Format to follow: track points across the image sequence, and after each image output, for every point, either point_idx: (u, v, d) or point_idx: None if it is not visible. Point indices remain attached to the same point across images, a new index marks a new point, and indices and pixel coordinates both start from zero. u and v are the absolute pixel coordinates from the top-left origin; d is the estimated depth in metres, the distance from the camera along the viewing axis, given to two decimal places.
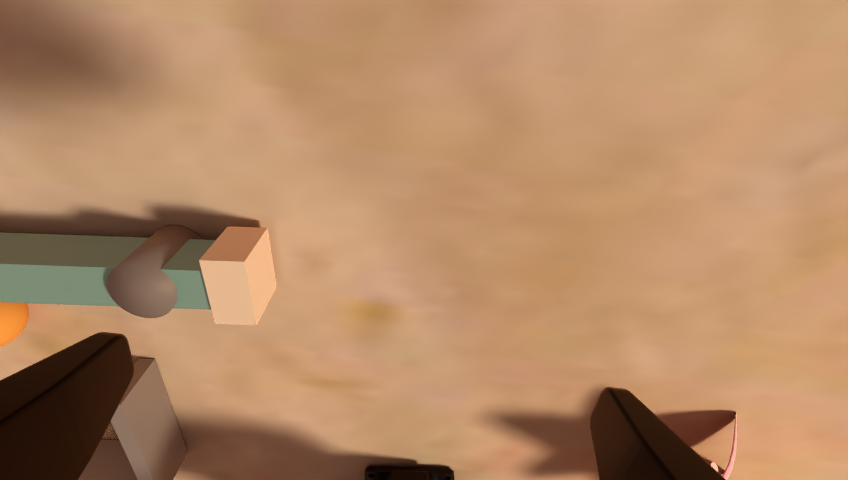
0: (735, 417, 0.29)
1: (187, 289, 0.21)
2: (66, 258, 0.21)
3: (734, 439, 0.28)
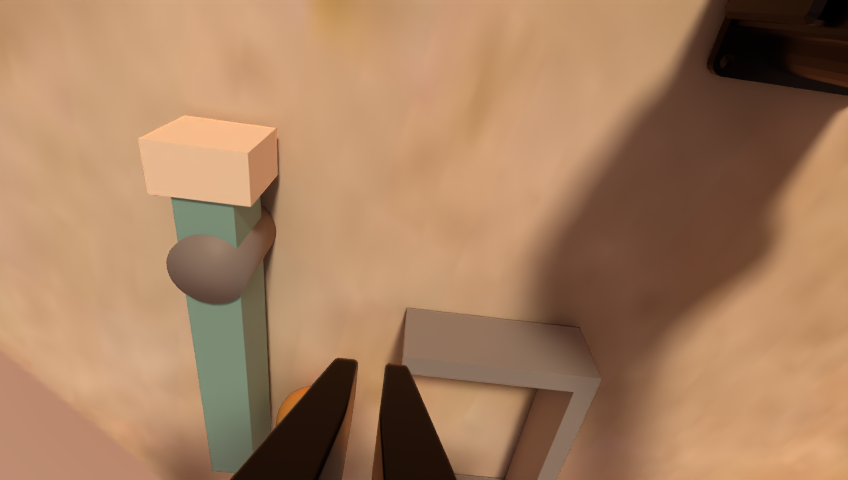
0: None
1: (203, 222, 0.16)
2: None
3: None
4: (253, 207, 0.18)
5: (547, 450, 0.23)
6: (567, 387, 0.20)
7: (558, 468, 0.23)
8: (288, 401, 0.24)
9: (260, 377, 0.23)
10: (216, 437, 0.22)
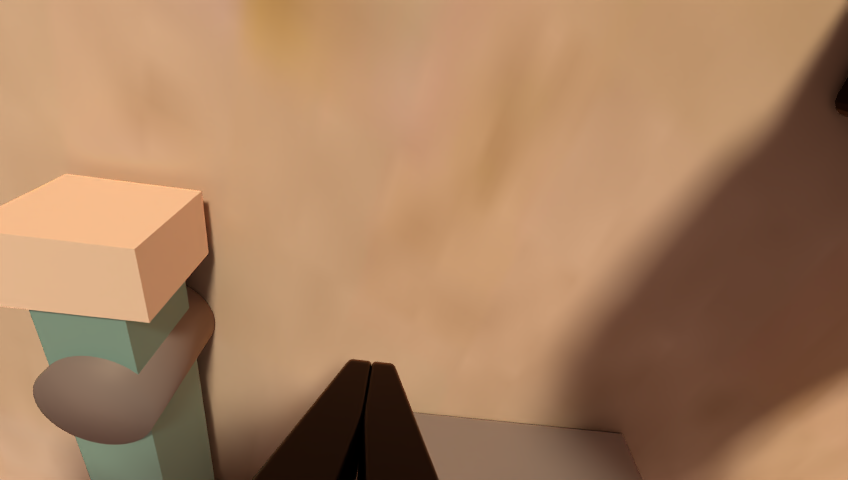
0: None
1: (83, 340, 0.11)
2: None
3: None
4: (171, 302, 0.13)
5: None
6: None
7: None
8: None
9: None
10: None
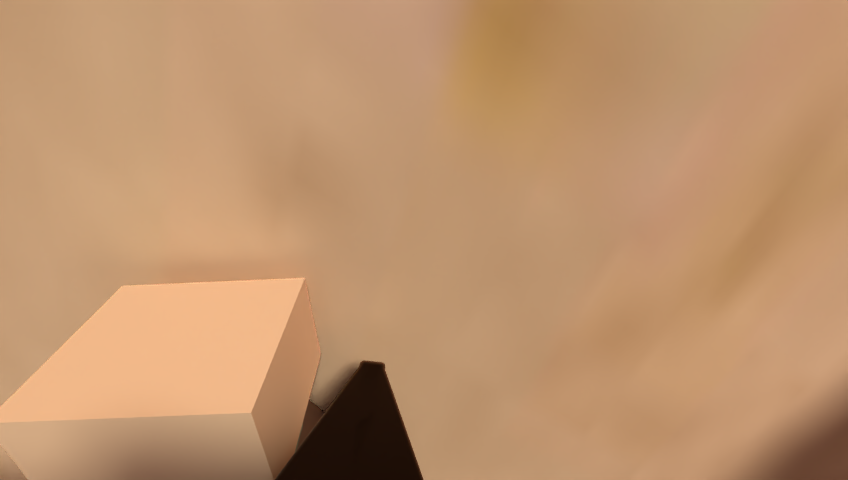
0: None
1: None
2: None
3: None
4: None
5: None
6: None
7: None
8: None
9: None
10: None
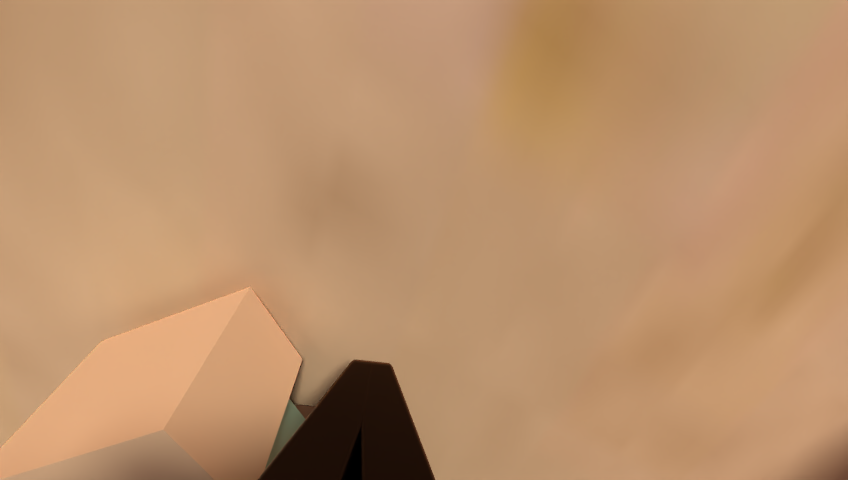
0: None
1: None
2: None
3: None
4: None
5: None
6: None
7: None
8: None
9: None
10: None
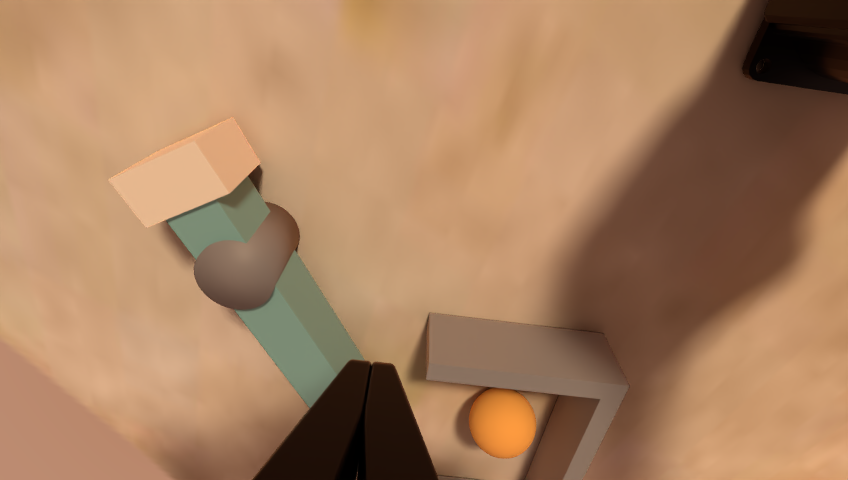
0: None
1: (205, 231, 0.16)
2: None
3: None
4: (252, 202, 0.18)
5: (570, 457, 0.23)
6: (594, 394, 0.20)
7: (582, 475, 0.23)
8: None
9: None
10: None
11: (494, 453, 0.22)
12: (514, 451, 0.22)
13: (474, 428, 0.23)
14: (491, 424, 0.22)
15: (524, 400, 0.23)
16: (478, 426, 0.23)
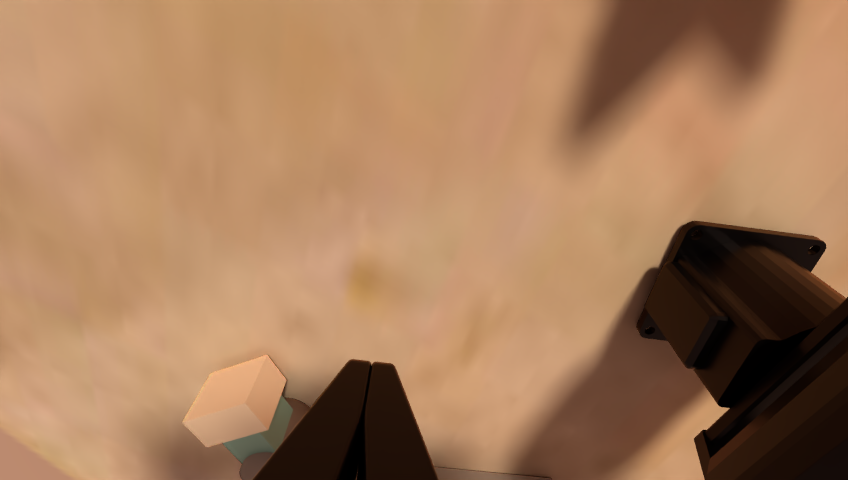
0: None
1: (248, 447, 0.23)
2: None
3: None
4: (280, 412, 0.24)
5: None
6: None
7: None
8: None
9: None
10: None
11: None
12: None
13: None
14: None
15: None
16: None
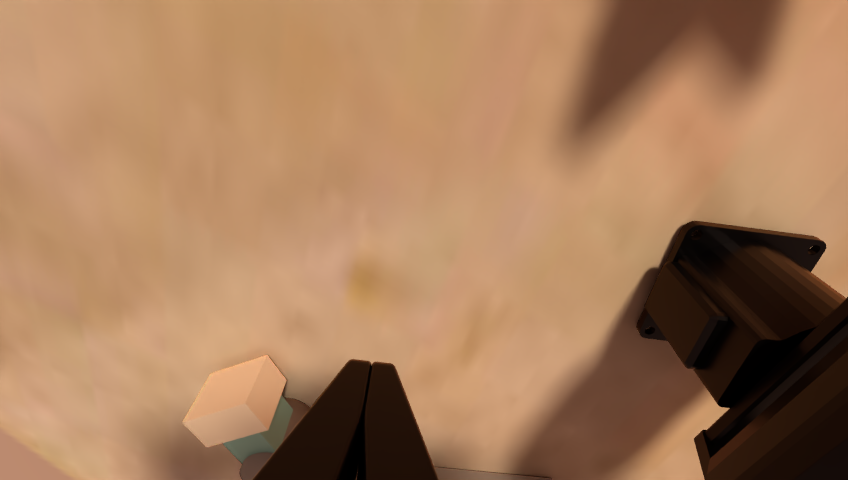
0: None
1: (248, 448, 0.23)
2: None
3: None
4: (280, 412, 0.24)
5: None
6: None
7: None
8: None
9: None
10: None
11: None
12: None
13: None
14: None
15: None
16: None
